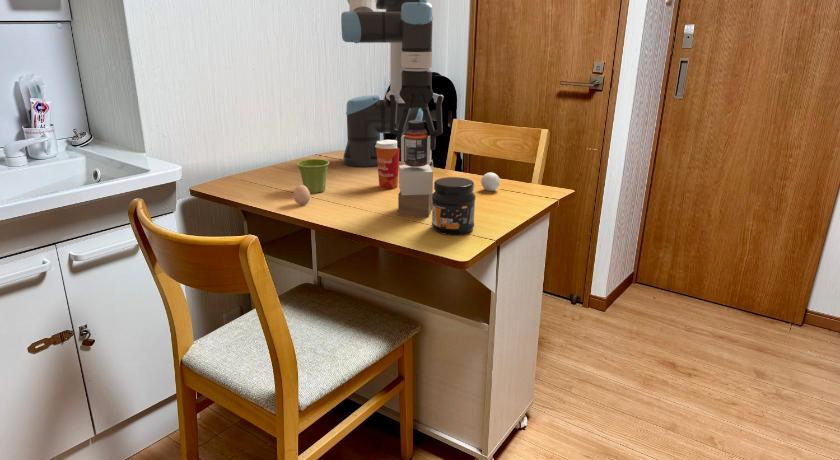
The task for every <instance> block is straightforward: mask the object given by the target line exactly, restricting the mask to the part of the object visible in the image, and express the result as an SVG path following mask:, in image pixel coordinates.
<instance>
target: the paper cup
mask: <svg viewBox="0 0 840 460" xmlns="http://www.w3.org/2000/svg"><path fill="white" fill-rule="evenodd" d="M375 147H376V150H377V163H378V165H377V173H378V185H379V186H378V187H379V188H380V189H382V190H394V189H397V188H398V187H399V165H400V152H401V149H398V147H397V139H382V140H381V139H380V141H377V143H376V145H375Z"/></svg>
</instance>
